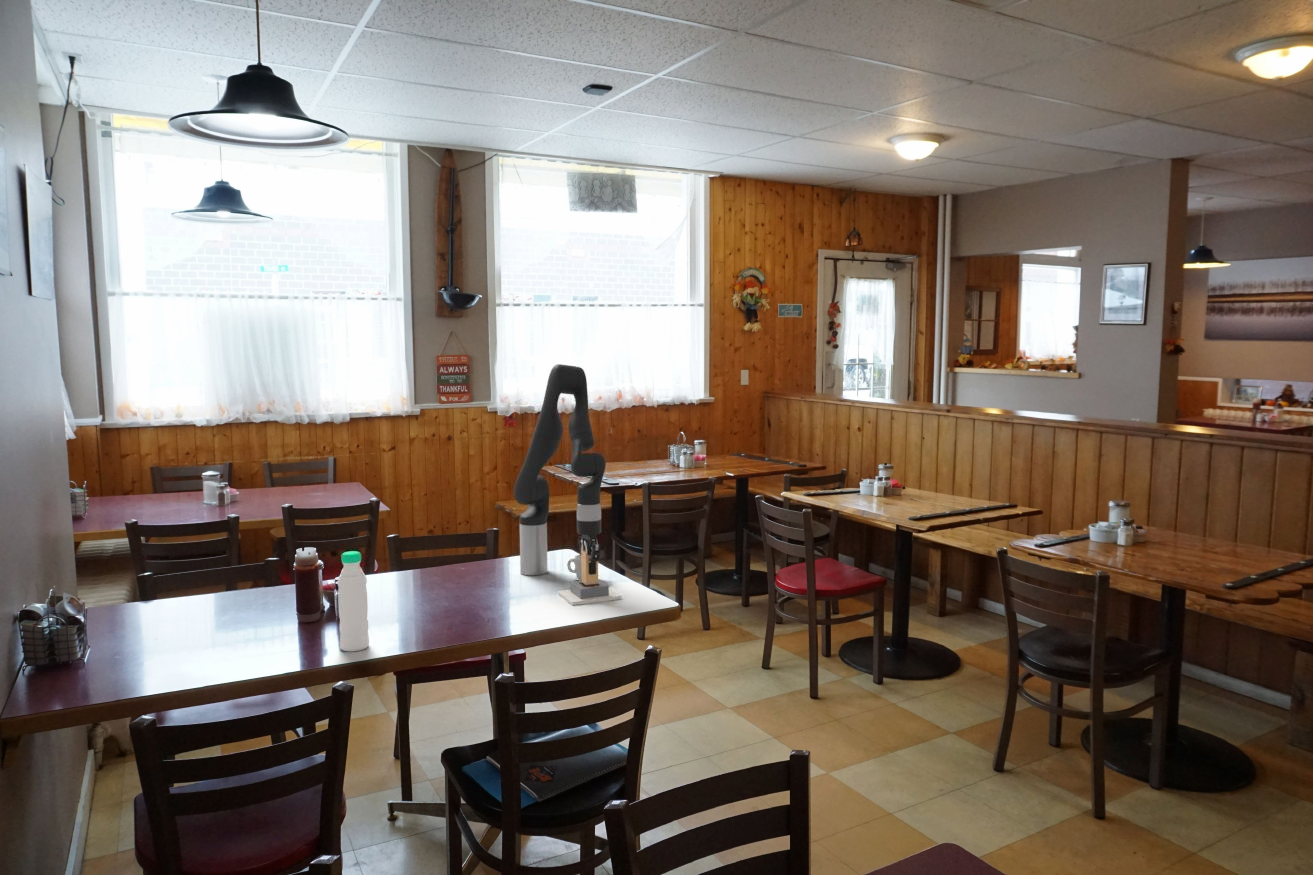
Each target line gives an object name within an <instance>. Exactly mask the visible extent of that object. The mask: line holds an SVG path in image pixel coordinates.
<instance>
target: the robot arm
mask: <svg viewBox="0 0 1313 875" xmlns="http://www.w3.org/2000/svg"><path fill="white" fill-rule="evenodd" d="M544 393H545V394H544V398H543V403H542V406H541V410H540V413H539V416H538V419H537V422H536V424H535V427H534V431H533V434H532V437H531V440H530V444H529V448H528V450H527V453H526V455H525V458H524V459H525V460H524V462H523V464H522V466H521V469H520V471H519V473H518V475H517V478H516V480H515V482H514V487H513V497H514V500H515V501H516V502H517V503H518V504H519V505H521V506H522V505H523V506H526V505H527V506H528V508H527V509H525V511H523V512H522V513H521V514H520V515H519V518H518V519H519V555H520V556H519V558H520V560H519V564H520V567H519V568H520V574H522V575H525V576H541V575H544V574H547V573H548V531H547V529H548V526H547V525H548V521H547V520H548V516H549V513H550V511H549V510H550V485H549V482H548V480H547V479H546V478H545V477H544V476H543V475H540V473H541V471H542V470H543V468H544V467H545V465H546V464H547V463H548V462H549V461H550V460H551V459H552V458H553V456H554V455H555V454H556V452H557V450H558V448H559V446H560V443H561V441H562V438H563V435H564V434H563V433H564V427H563V422H562V418H561V416H560V413H559V409H558V404H559V399H560V396H561V394H563V395H564V394H565V395H571V396H573V397H574V401H575V402H574V403H575V405H574V408H573V411H572V413H571V415H570V417H569V420H568V433H569V438H570V441H571V461H570V469H571V472H572V474H573V475H574V476H576V477H578V478H581V477H582V478H583V477H591V478H590V479H589V481H587V482H585V483H582V484H579V485H578V486H577V490H576V491H577V492H576V496H577V497H576V498H577V499H576V500H577V503H576V504H577V506H576V532H577V534H578V535H581V536H578V537H577V538H578V539H577V540H578V547H579V548H578V549H579V555H581V550H586V553H587V555H588V562H589V574H590V575H593V574H596V562H597V561H598V562H599V561H600V558H601V556H600V555H601V550H602V549H601V547H602V545H601V543H598V539H597V535H599V534H601V533H602V506H601V487H602V482H603V478H604V474H605V470H606V465H607V463H606V458H605V456H604V455H603V454H602V453H600V452H591V453H589V452H587V451H588V450H591V449H592V448H593V447H594V446H595V438H594V434H593V430H592V426H591V420H590V414H589V413H590V412H589V395H588V394H589V393H588V382H587V376H586V373H585V370H584V369H583V368H582V367H580V366H574V365H569V364H554V366H553V367H552V368H551V370H550V372H549V376H548V379H547V385H546V389H545V392H544ZM584 452H586V453H584ZM589 551H591V552H589Z"/></svg>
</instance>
